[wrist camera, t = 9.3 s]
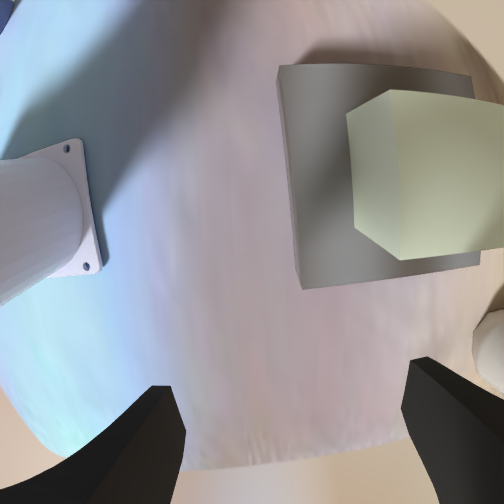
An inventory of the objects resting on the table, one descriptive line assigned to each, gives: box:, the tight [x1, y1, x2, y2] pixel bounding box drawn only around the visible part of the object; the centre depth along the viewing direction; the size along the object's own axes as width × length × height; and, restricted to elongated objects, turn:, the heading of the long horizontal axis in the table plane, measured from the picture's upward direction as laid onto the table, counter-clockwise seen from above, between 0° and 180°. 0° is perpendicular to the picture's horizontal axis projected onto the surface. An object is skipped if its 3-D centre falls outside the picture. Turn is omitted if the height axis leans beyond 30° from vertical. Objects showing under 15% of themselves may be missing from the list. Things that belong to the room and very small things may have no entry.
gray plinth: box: [276, 64, 481, 290], centre depth 14 cm, size 10×10×3 cm
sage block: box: [346, 89, 504, 260], centre depth 10 cm, size 5×5×5 cm
